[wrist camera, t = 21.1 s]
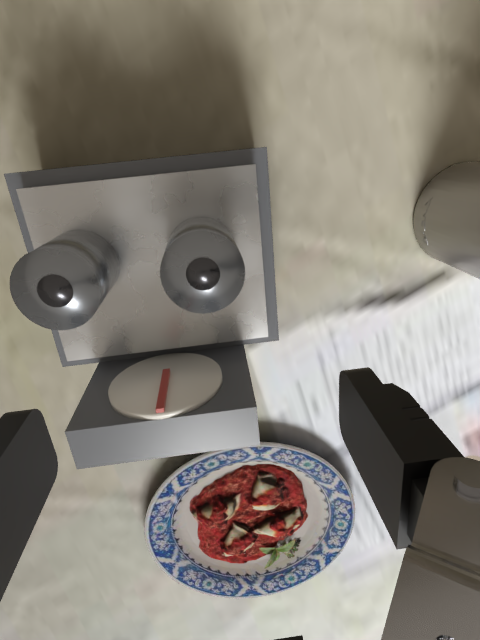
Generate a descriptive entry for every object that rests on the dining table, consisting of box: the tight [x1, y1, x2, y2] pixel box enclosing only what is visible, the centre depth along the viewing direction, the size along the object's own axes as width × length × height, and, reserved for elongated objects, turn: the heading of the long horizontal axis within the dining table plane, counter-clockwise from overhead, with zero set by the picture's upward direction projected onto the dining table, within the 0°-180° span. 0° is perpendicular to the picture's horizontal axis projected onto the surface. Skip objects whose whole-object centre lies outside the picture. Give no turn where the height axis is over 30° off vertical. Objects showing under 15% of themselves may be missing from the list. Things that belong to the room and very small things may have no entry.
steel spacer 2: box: [160, 216, 245, 314], centre depth 26 cm, size 5×5×6 cm
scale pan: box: [16, 164, 268, 361], centre depth 30 cm, size 16×13×1 cm
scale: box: [4, 147, 279, 469], centre depth 30 cm, size 18×18×16 cm
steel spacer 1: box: [10, 229, 119, 330], centre depth 26 cm, size 5×5×6 cm
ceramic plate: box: [144, 442, 355, 599], centre depth 50 cm, size 26×26×3 cm
